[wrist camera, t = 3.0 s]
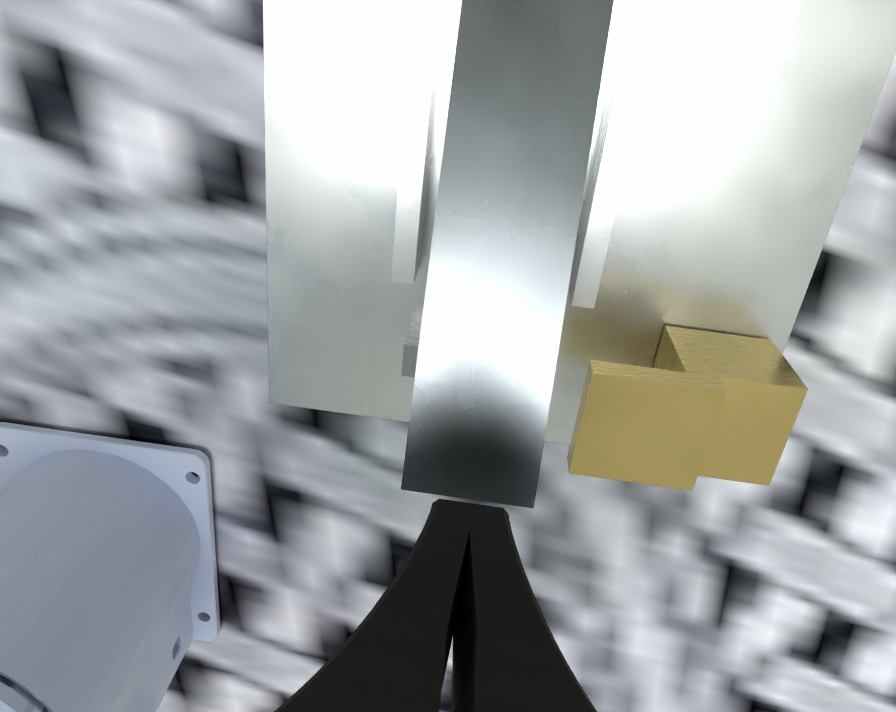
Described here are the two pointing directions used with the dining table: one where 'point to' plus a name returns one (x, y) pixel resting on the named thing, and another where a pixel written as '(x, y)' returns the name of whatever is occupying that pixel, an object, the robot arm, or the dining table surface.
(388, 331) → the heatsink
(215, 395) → the dining table surface
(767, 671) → the dining table surface
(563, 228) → the grey metal flat bar
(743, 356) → the block
